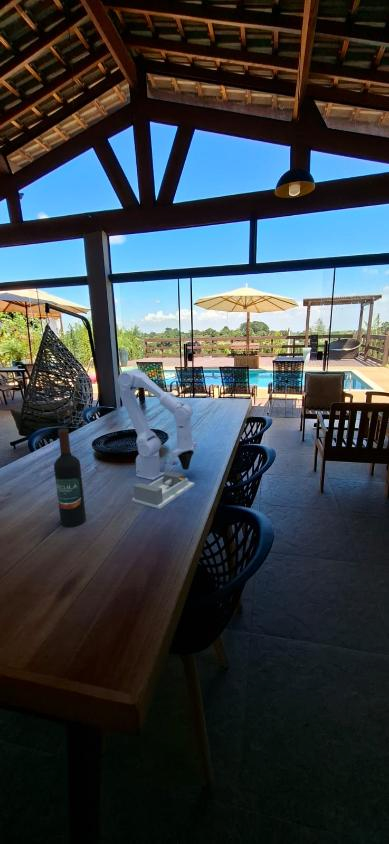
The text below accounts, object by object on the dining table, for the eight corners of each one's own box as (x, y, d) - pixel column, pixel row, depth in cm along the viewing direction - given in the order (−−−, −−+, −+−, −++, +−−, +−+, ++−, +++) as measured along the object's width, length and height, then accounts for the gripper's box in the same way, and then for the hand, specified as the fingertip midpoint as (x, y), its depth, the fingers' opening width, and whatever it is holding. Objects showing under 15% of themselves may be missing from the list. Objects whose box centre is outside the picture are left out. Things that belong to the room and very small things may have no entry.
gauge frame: (132, 501, 129) (131, 485, 127) (169, 479, 147) (168, 465, 145) (159, 508, 122) (158, 492, 121) (194, 485, 140) (194, 470, 139)
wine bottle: (90, 517, 118) (81, 427, 111) (76, 528, 111) (65, 433, 104) (71, 513, 120) (60, 425, 113) (55, 525, 113) (43, 432, 106)
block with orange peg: (158, 486, 137) (158, 476, 136) (169, 480, 143) (169, 470, 142) (179, 492, 132) (179, 481, 131) (190, 485, 138) (189, 475, 137)
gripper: (182, 442, 134) (183, 476, 137) (202, 432, 146) (203, 464, 149) (166, 439, 137) (168, 473, 140) (187, 430, 149) (189, 462, 152)
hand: (185, 468), depth 145 cm, fingers closed
